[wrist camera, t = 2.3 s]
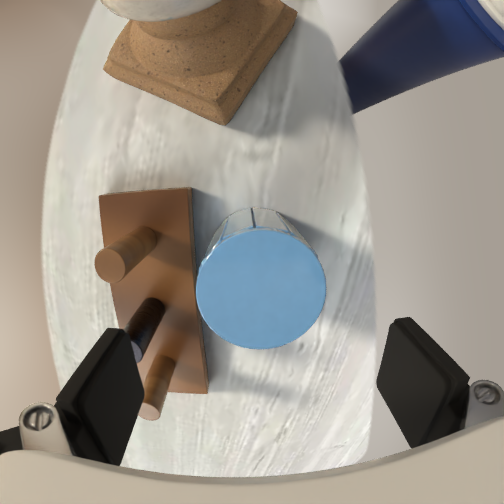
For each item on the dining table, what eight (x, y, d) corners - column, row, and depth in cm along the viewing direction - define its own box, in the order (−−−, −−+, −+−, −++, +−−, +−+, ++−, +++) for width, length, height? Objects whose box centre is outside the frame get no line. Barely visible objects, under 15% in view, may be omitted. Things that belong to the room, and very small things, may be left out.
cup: (282, 194, 21) (303, 209, 13) (310, 274, 23) (339, 325, 15) (198, 227, 21) (173, 259, 14) (232, 302, 23) (226, 363, 16)
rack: (106, 193, 20) (52, 207, 13) (191, 187, 21) (164, 196, 13) (140, 379, 25) (118, 433, 18) (209, 383, 26) (200, 443, 18)
